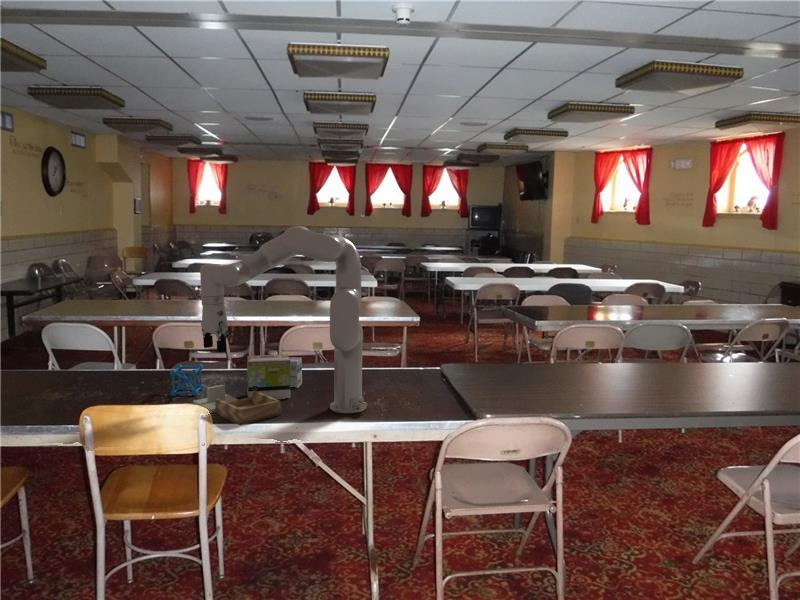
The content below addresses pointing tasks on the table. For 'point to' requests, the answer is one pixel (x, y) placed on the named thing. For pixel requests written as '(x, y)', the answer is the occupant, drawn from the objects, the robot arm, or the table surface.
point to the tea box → (269, 375)
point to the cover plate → (213, 404)
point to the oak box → (249, 408)
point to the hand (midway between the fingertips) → (215, 349)
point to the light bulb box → (296, 372)
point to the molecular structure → (186, 380)
